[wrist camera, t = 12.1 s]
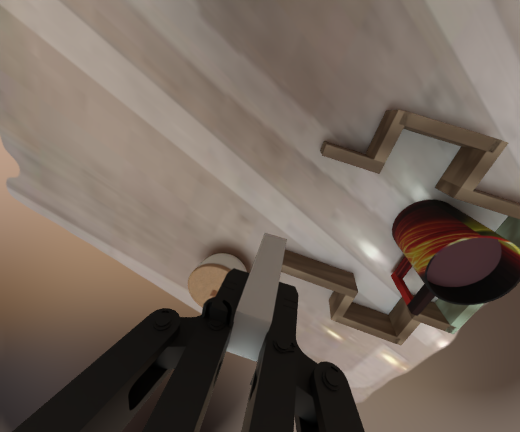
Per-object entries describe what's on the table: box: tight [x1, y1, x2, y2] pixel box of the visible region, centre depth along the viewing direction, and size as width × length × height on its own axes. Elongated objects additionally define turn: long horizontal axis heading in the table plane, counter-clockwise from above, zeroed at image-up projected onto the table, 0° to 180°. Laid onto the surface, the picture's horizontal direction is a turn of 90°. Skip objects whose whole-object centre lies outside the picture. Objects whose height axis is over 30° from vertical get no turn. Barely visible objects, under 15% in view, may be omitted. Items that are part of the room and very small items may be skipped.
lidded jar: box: [188, 253, 247, 308], centre depth 44 cm, size 11×11×9 cm
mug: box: [391, 200, 520, 316], centre depth 32 cm, size 10×14×12 cm
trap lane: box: [281, 110, 520, 345], centre depth 36 cm, size 34×31×5 cm
